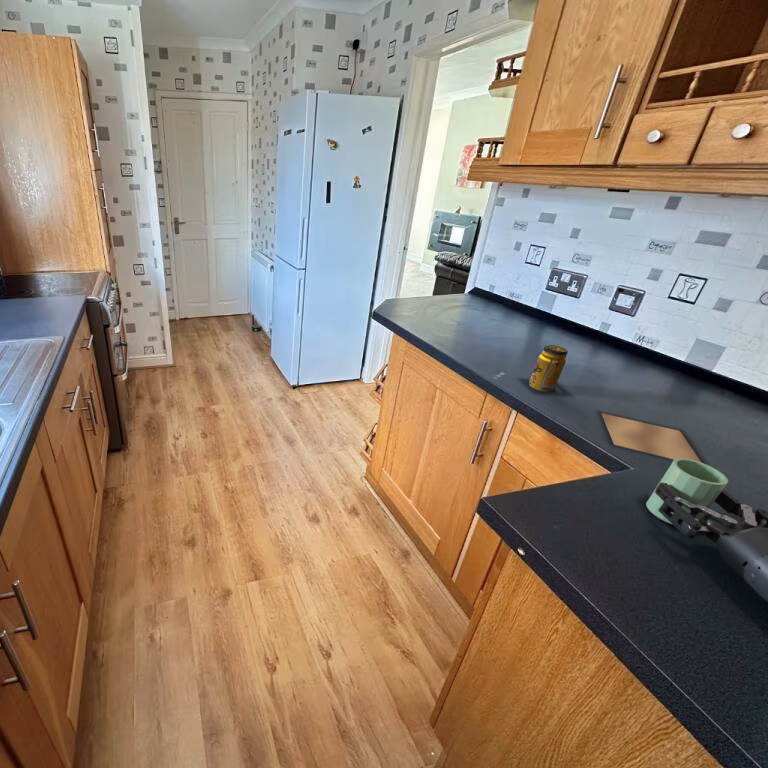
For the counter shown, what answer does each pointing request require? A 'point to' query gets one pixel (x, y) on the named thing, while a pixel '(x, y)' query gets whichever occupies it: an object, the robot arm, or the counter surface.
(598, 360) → the counter surface
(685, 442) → the mat
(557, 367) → the condiment
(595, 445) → the counter surface
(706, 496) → the cup
